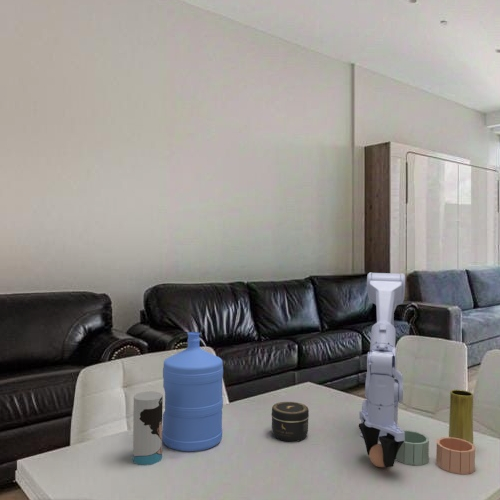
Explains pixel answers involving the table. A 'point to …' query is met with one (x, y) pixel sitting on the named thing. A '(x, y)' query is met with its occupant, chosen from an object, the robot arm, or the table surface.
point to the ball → (376, 455)
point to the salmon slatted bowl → (455, 455)
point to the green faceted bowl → (414, 449)
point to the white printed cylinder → (147, 428)
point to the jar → (290, 421)
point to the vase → (461, 415)
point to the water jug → (192, 398)
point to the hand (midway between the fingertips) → (380, 460)
